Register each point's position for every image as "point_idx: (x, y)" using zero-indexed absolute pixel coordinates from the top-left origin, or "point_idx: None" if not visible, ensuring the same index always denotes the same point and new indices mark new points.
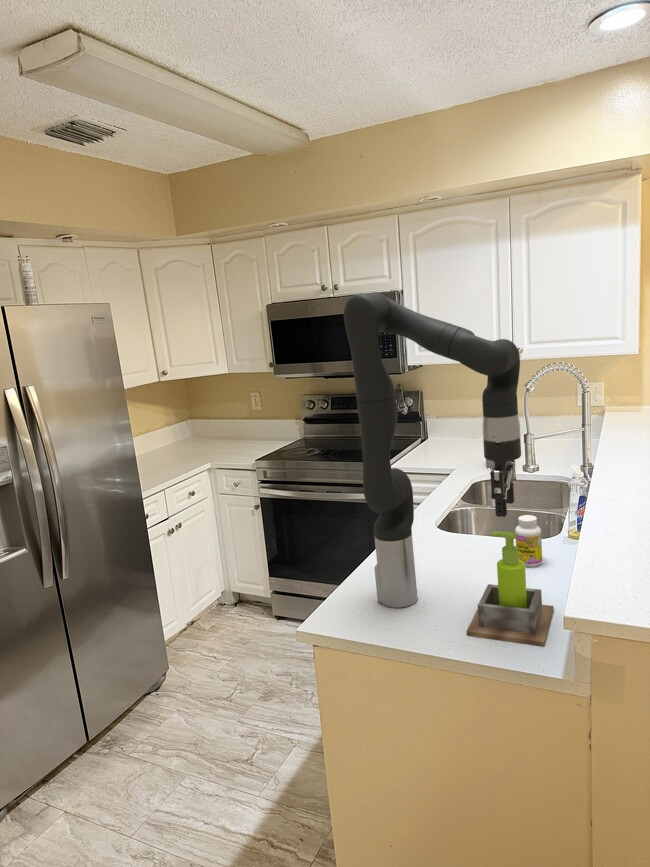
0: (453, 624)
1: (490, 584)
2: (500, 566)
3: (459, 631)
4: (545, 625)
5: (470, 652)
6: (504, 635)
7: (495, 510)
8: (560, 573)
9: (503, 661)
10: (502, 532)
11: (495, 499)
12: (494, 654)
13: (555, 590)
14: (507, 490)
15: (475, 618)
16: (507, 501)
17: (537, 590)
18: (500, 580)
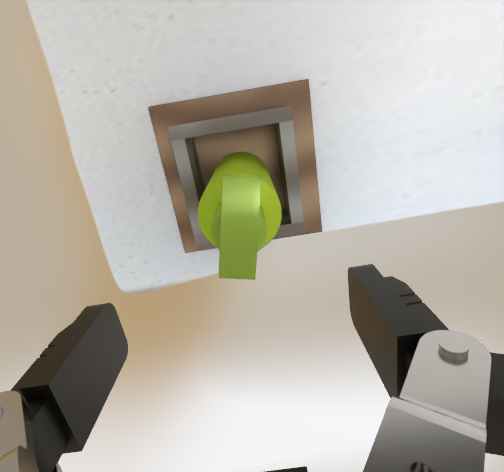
0: (178, 57)
1: (291, 112)
2: (205, 195)
3: (157, 84)
4: None
5: (98, 140)
6: (171, 185)
7: (73, 323)
8: (493, 196)
9: (106, 205)
10: (239, 227)
11: (23, 391)
12: (118, 183)
13: (405, 209)
14: (385, 350)
15: (207, 103)
16: (352, 292)
17: (297, 227)
18: (208, 183)
